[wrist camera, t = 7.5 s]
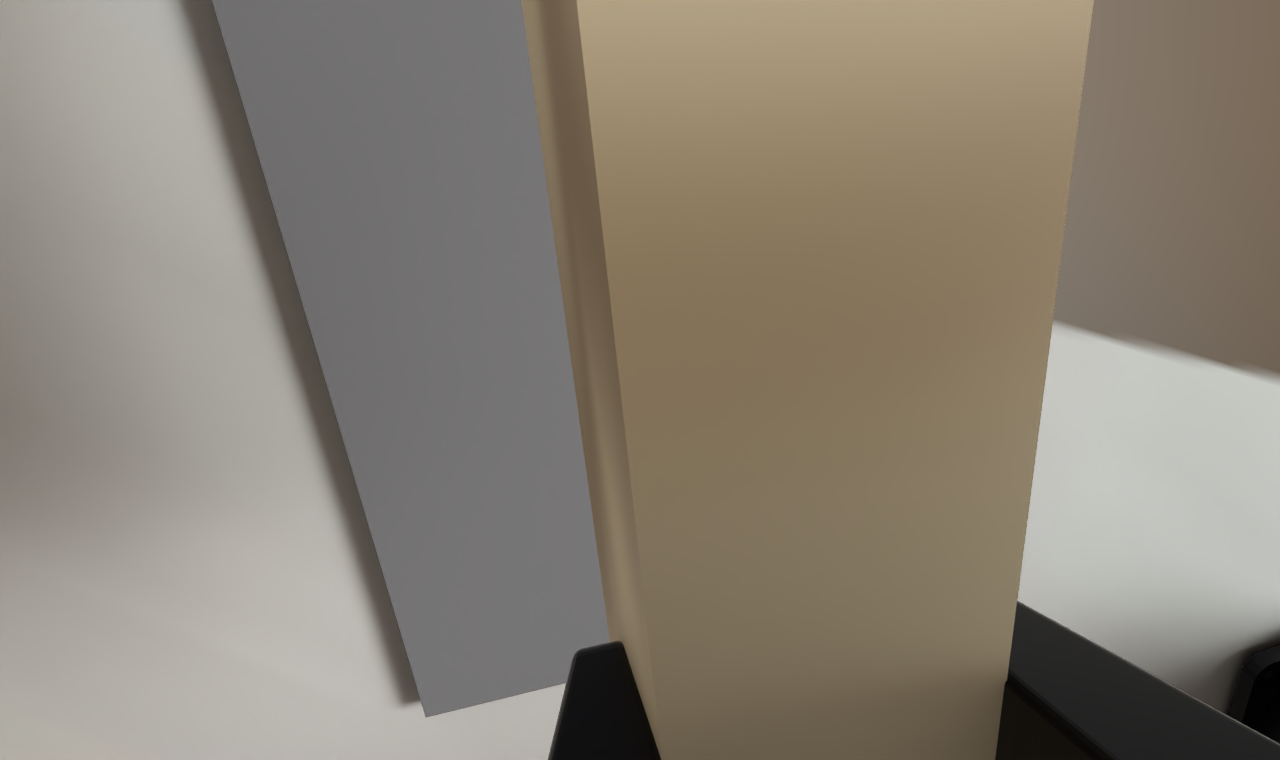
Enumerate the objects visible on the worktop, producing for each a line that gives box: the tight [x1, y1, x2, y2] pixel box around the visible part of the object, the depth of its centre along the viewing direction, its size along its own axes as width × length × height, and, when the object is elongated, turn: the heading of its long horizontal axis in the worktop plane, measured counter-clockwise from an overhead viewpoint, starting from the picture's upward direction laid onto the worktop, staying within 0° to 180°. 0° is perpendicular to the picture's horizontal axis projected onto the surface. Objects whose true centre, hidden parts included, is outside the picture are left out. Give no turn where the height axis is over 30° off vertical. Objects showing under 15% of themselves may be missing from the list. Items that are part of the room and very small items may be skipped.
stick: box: [521, 0, 1094, 760], centre depth 6 cm, size 14×2×2 cm, turn 5°
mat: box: [212, 0, 610, 717], centre depth 15 cm, size 18×8×1 cm, turn 6°
